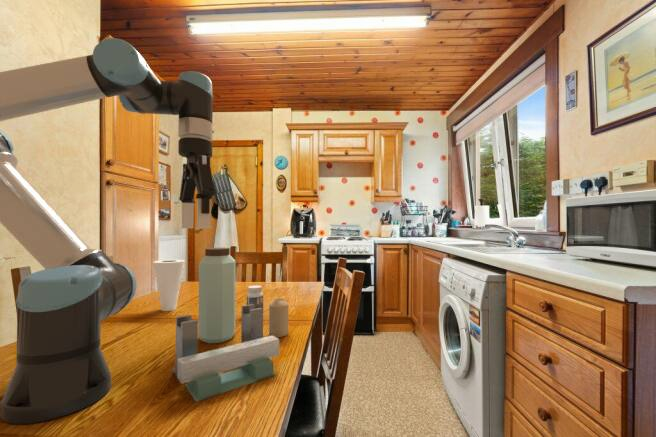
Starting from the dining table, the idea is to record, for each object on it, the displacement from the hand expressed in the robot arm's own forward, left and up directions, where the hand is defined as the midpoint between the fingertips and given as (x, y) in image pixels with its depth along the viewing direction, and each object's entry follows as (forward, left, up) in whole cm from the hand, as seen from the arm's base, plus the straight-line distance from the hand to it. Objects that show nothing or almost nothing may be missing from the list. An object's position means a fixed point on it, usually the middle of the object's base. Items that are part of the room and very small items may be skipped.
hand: (195, 228), depth 75 cm
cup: (+5, +51, -31) cm, 60 cm away
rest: (+3, -16, -31) cm, 35 cm away
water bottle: (+9, +10, -31) cm, 34 cm away
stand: (+4, -7, -31) cm, 32 cm away
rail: (+3, -16, -28) cm, 32 cm away
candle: (+24, +2, -31) cm, 39 cm away
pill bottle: (+27, +24, -31) cm, 48 cm away
